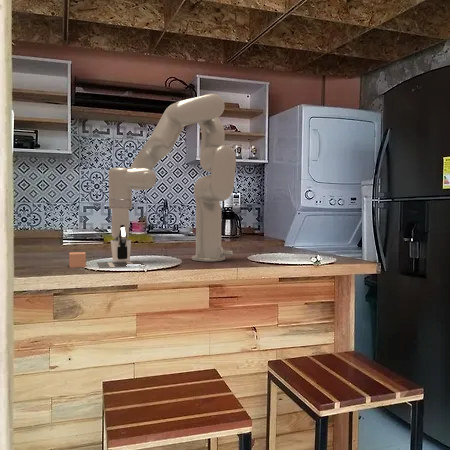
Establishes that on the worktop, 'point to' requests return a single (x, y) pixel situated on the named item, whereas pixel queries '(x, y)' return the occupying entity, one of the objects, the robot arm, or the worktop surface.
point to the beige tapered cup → (114, 250)
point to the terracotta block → (77, 259)
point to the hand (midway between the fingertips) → (121, 257)
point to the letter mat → (117, 264)
